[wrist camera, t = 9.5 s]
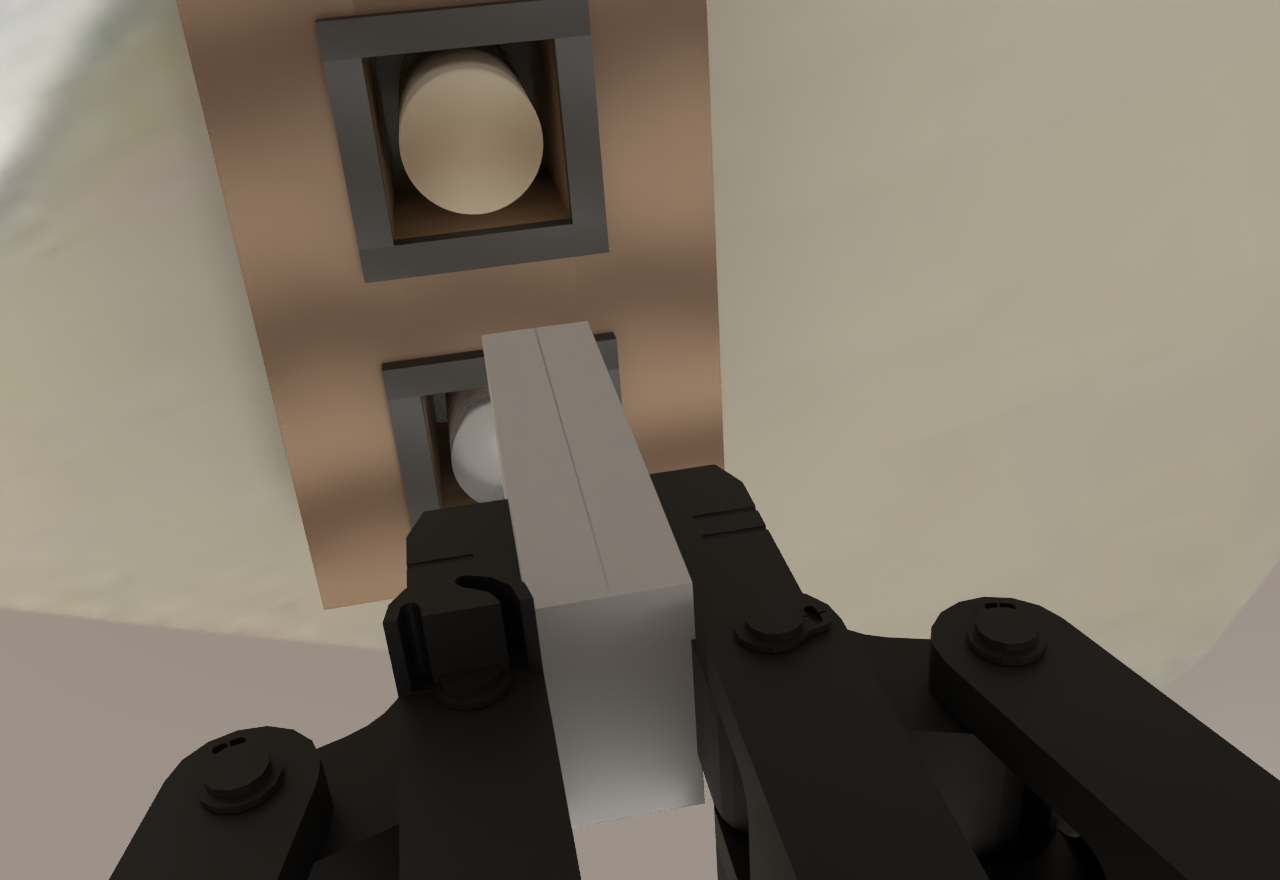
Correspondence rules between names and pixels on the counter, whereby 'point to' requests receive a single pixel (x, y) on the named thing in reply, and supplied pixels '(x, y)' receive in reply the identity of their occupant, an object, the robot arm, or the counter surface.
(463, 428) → the metal peg
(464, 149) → the birch dowel
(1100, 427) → the counter surface
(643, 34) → the walnut block
